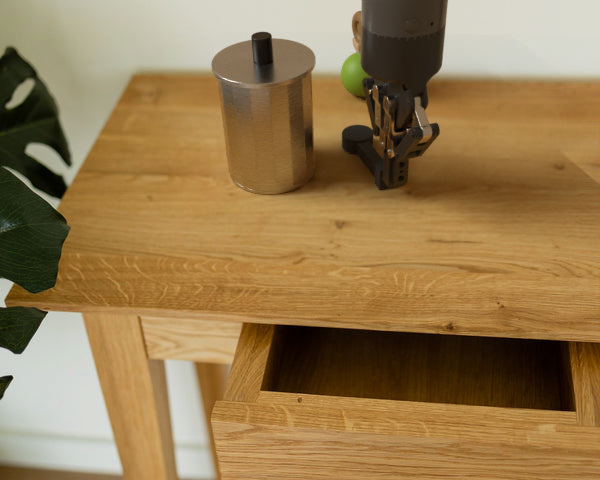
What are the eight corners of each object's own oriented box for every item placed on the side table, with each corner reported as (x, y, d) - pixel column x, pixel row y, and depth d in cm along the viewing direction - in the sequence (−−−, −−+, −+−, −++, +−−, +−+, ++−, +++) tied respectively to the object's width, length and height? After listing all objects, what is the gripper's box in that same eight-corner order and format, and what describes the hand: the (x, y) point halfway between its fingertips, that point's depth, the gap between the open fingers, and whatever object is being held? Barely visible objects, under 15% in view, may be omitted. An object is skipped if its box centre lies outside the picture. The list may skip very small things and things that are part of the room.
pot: (298, 141, 89) (293, 38, 80) (326, 183, 82) (324, 75, 74) (220, 158, 87) (206, 54, 78) (243, 202, 80) (230, 94, 72)
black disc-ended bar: (366, 135, 89) (366, 117, 87) (404, 184, 81) (405, 165, 80) (337, 141, 88) (337, 123, 87) (373, 191, 80) (373, 172, 79)
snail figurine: (356, 111, 93) (357, 14, 85) (333, 90, 98) (332, -4, 90) (395, 101, 95) (399, 5, 87) (371, 80, 99) (373, -13, 91)
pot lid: (296, 41, 81) (294, 7, 79) (330, 82, 74) (330, 46, 71) (201, 59, 79) (197, 25, 77) (227, 103, 72) (223, 67, 69)
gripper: (478, 37, 64) (457, 209, 75) (409, -13, 73) (400, 146, 85) (396, 52, 62) (387, 226, 73) (336, -1, 71) (337, 160, 83)
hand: (394, 183), depth 79 cm, fingers closed
